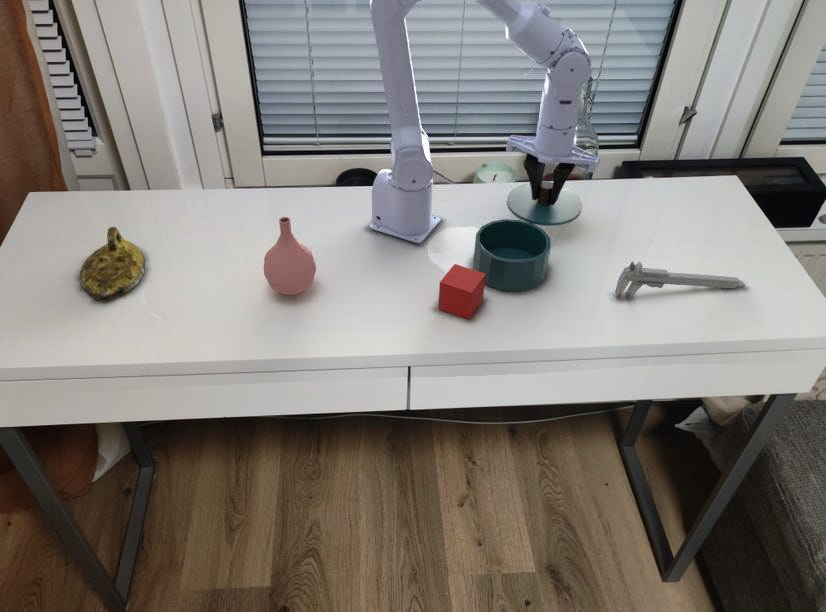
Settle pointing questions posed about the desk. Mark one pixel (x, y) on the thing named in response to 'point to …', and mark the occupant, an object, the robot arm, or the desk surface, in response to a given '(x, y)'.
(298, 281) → the pink vase
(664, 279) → the caliper
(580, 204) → the lid
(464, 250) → the desk surface
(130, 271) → the seal
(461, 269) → the red block
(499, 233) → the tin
